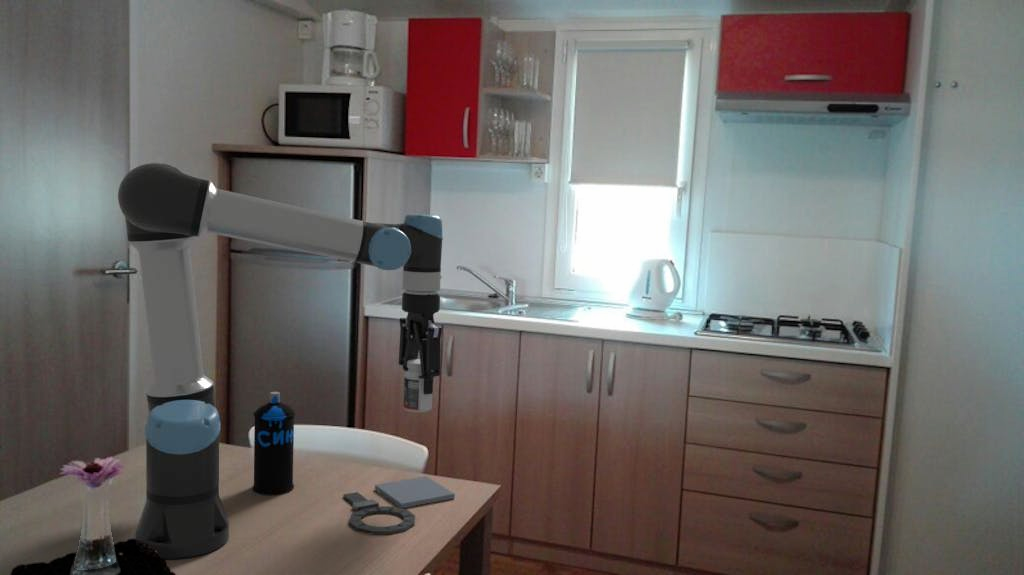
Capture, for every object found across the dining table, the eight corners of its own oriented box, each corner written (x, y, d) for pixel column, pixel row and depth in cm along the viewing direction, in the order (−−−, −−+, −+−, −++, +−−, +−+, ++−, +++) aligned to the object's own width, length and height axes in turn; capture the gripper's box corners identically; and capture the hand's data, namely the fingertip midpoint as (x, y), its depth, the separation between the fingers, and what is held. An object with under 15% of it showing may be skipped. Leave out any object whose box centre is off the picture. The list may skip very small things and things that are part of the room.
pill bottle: (406, 405, 176) (408, 357, 175) (434, 407, 175) (435, 359, 174) (400, 412, 170) (402, 363, 169) (428, 414, 170) (430, 364, 168)
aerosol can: (250, 483, 176) (251, 389, 174) (290, 479, 180) (292, 387, 177) (254, 497, 169) (256, 398, 167) (297, 493, 172) (298, 396, 170)
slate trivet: (401, 508, 166) (401, 503, 166) (375, 489, 176) (375, 484, 176) (454, 498, 173) (454, 493, 173) (426, 480, 183) (426, 476, 183)
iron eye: (366, 538, 152) (366, 533, 151) (322, 501, 168) (322, 496, 168) (426, 526, 158) (426, 521, 158) (377, 491, 175) (377, 486, 175)
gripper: (461, 297, 164) (456, 414, 167) (416, 286, 180) (412, 393, 182) (427, 298, 160) (423, 418, 163) (383, 286, 175) (380, 396, 178)
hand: (417, 405), depth 173 cm, fingers closed on pill bottle, 6 cm apart
